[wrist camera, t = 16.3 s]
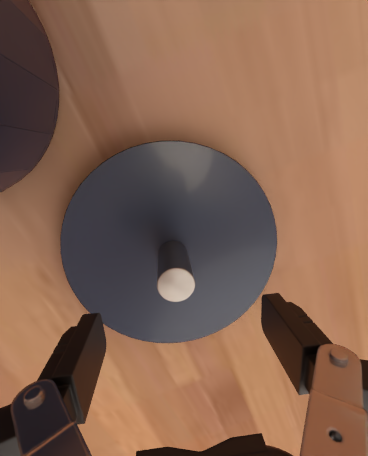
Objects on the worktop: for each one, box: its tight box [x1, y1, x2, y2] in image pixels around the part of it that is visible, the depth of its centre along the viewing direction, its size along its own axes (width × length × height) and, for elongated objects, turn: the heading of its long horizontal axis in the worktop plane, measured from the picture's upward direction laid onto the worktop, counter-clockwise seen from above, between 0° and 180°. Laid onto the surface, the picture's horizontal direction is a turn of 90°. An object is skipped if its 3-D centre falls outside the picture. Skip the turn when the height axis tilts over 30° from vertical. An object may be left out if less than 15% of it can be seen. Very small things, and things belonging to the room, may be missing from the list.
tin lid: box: [61, 141, 277, 343], centre depth 18 cm, size 18×18×6 cm
